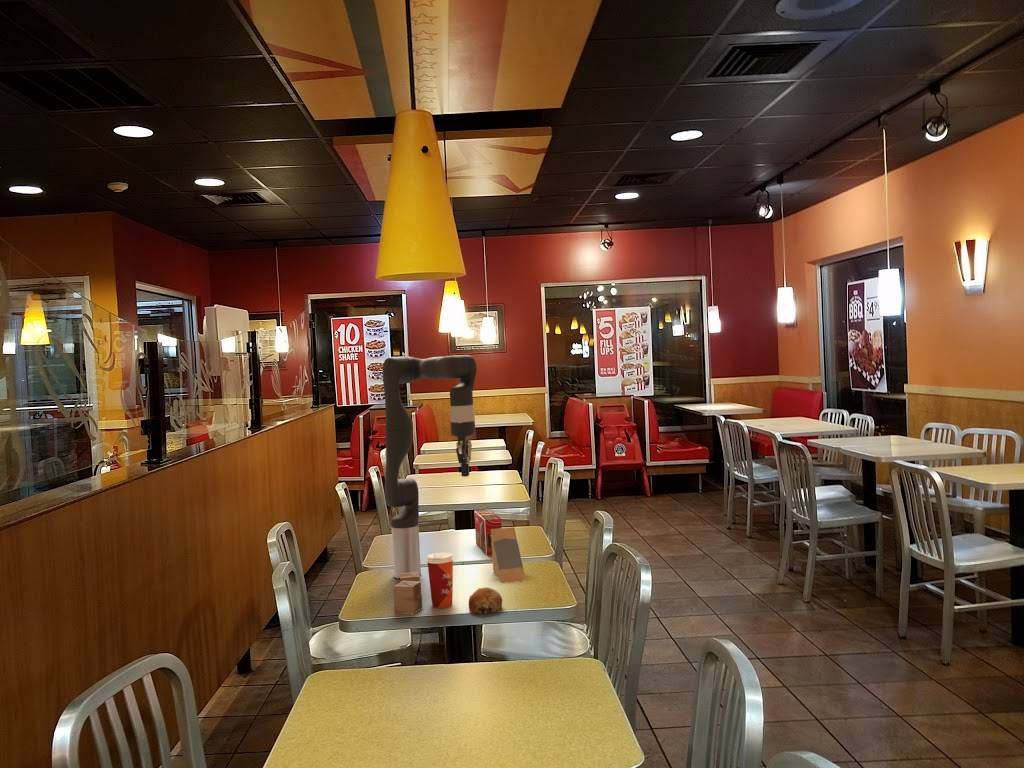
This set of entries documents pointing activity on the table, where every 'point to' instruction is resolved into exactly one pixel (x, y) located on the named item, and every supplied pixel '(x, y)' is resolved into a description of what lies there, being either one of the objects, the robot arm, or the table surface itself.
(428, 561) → the coffee cup
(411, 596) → the three-dot block
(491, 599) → the bread roll
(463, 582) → the table surface
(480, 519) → the ice cream box
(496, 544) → the sandwich container
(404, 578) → the two-dot block
